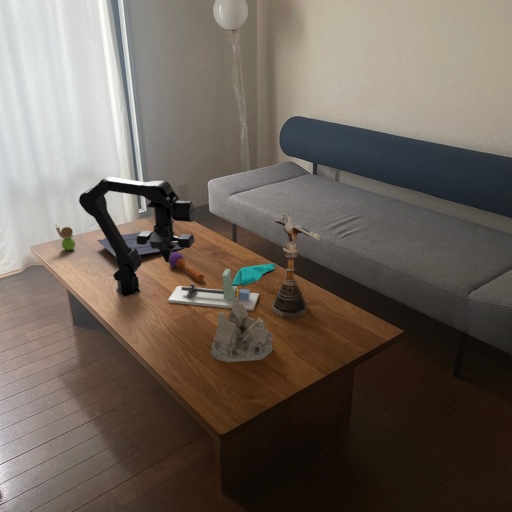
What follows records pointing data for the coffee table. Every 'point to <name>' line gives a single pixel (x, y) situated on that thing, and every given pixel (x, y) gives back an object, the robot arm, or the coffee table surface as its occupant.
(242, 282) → the cloth
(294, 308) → the bird statue
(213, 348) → the ceramic cottage
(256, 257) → the coffee table surface
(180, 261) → the kendama
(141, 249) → the papers
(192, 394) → the coffee table surface
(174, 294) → the white board with rod
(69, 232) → the snail figurine
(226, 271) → the sage green stepped block
